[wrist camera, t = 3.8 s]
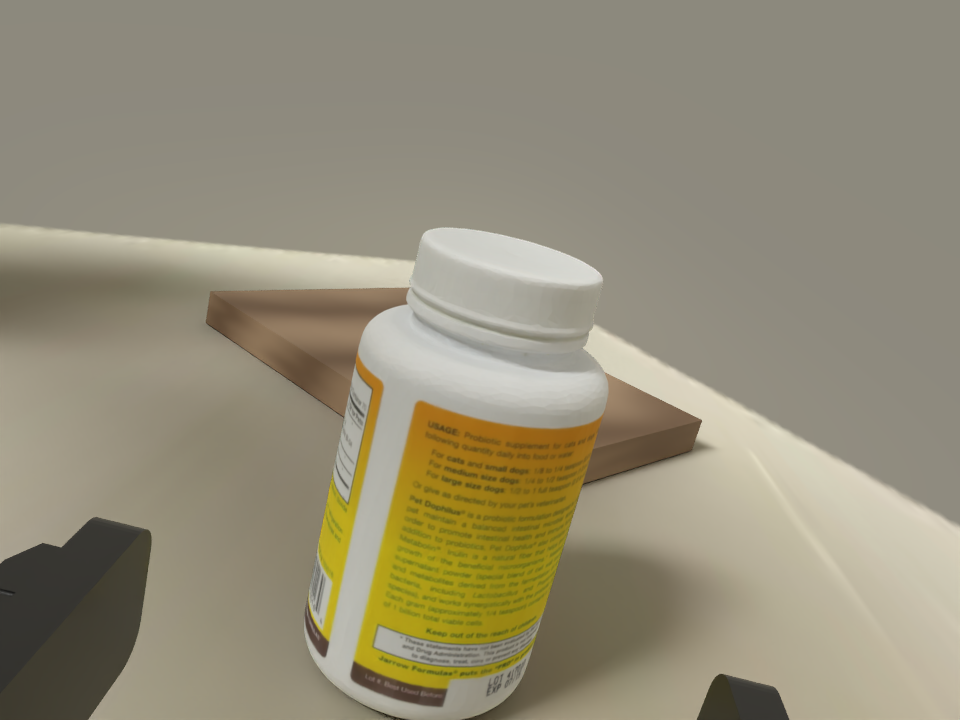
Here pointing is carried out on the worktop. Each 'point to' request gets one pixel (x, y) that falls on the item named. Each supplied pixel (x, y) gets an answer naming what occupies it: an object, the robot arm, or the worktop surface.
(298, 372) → the walnut board
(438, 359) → the supplement bottle
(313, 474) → the worktop surface
